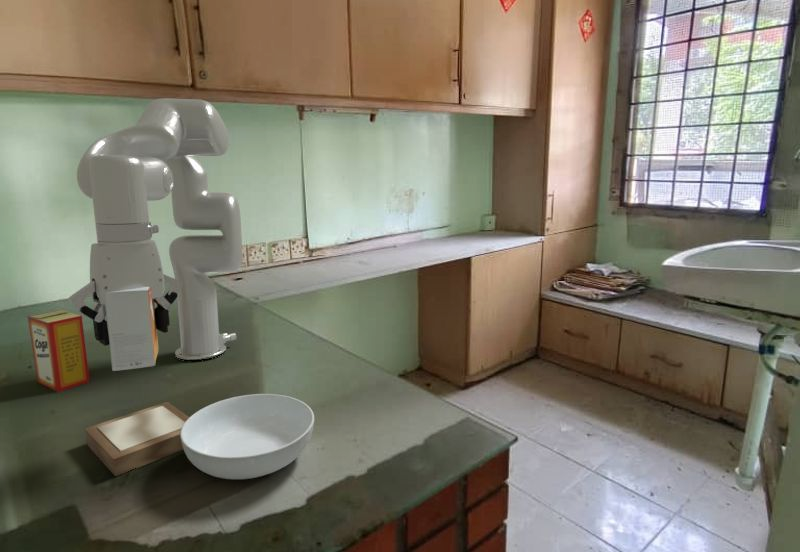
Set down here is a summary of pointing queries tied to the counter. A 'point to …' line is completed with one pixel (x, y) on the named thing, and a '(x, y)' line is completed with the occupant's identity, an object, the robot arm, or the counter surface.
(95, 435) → the picture frame
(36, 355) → the baking soda box
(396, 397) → the counter surface
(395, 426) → the counter surface
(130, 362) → the small box
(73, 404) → the counter surface
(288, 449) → the serving bowl
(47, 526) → the counter surface
